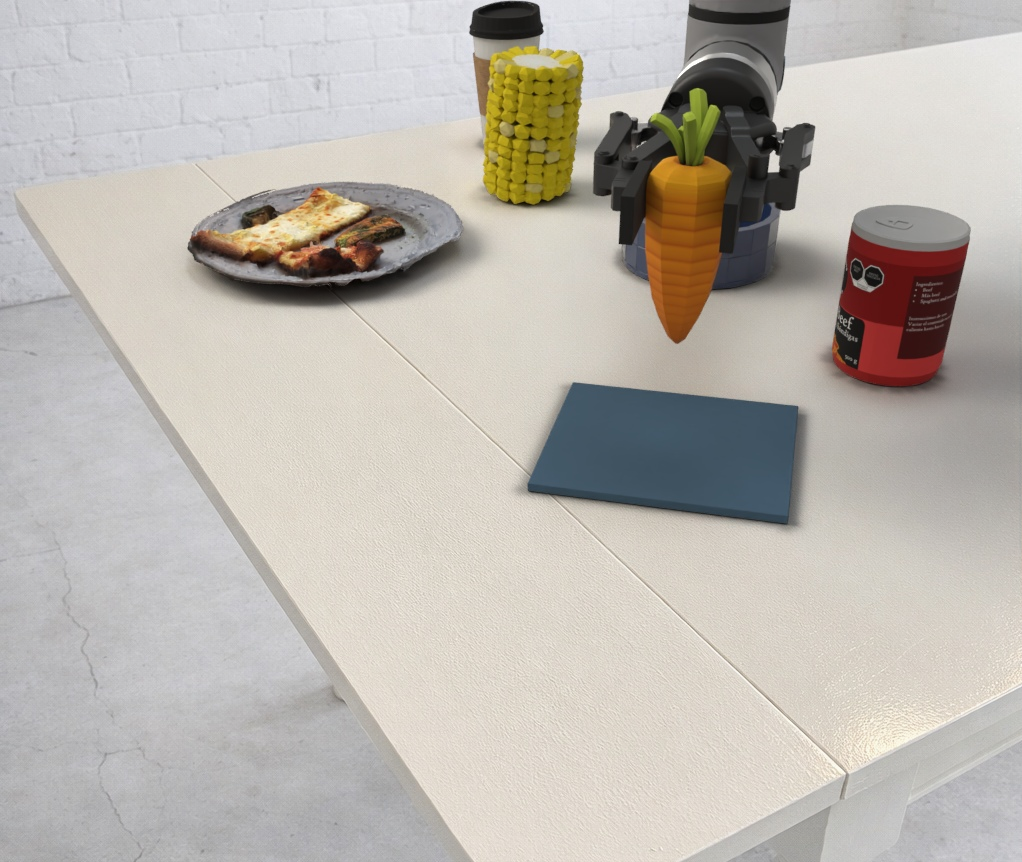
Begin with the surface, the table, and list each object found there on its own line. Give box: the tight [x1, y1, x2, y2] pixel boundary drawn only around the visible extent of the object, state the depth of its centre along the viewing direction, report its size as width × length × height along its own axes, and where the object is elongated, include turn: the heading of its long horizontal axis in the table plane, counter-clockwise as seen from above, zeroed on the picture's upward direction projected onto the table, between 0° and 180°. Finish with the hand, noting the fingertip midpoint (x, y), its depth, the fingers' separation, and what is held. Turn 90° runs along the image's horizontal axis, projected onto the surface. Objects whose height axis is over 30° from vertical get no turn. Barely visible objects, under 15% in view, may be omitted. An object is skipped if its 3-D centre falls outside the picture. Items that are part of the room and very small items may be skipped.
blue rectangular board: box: [527, 381, 799, 525], centre depth 74 cm, size 16×14×1 cm
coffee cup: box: [468, 0, 545, 147], centre depth 129 cm, size 8×8×15 cm
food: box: [482, 46, 585, 206], centre depth 114 cm, size 15×12×10 cm
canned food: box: [831, 204, 972, 387], centre depth 81 cm, size 8×8×11 cm
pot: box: [621, 203, 782, 290], centre depth 101 cm, size 14×14×5 cm
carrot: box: [645, 88, 732, 345], centre depth 66 cm, size 5×5×15 cm
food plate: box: [186, 181, 464, 291], centre depth 104 cm, size 25×23×4 cm
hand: (677, 224), depth 61 cm, fingers closed on carrot, 5 cm apart
